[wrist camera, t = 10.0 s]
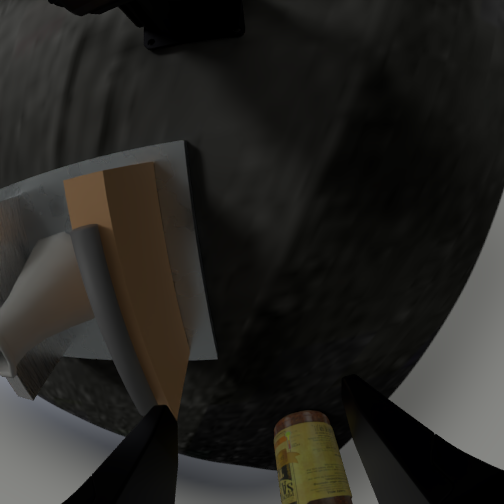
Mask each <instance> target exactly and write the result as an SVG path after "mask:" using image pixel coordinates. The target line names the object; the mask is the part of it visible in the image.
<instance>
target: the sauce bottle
mask: <svg viewBox="0 0 504 504" xmlns="http://www.w3.org/2000/svg"><path fill="white" fill-rule="evenodd" d="M274 437H275V438H274V447H275V455H276V463H277V471H278V480H279V487H280V495H281V502H282V504H352V500H351V498H352V494H351V491H350V487H349V484H348V480H347V477H346V474H345V470H344V466H343V462H342V459H341V455H340V452H339V448H338V445H337V442H336V438H335V435H334V432H333V429H332V427H331V426H330V422H329V419H328V418H327V416H326V415H325V414H323V413H321V412H319V411H312V410H306V411H300V412H295V413H291V414H289V415H287V416H285V417H283V418H282V419H281V420H280V421H279V422H278V423H277V424H276V426H275V429H274Z"/></svg>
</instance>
